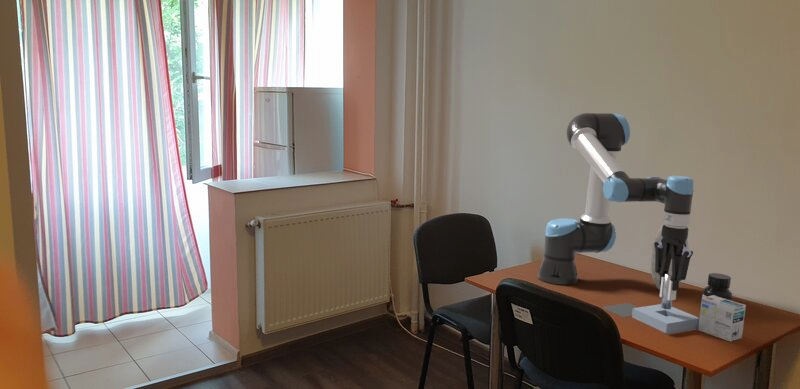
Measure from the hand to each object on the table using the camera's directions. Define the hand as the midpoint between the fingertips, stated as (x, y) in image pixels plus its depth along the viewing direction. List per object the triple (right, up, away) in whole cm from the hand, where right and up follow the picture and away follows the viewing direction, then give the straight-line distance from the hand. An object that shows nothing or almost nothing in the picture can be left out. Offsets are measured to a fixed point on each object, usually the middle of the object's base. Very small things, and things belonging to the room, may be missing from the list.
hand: (667, 297), depth 197 cm
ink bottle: (+24, -7, +17) cm, 30 cm away
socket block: (0, -8, +1) cm, 9 cm away
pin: (0, -3, +1) cm, 3 cm away
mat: (-9, -6, +11) cm, 16 cm away
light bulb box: (+14, -10, -6) cm, 18 cm away
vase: (+15, -3, +37) cm, 41 cm away
